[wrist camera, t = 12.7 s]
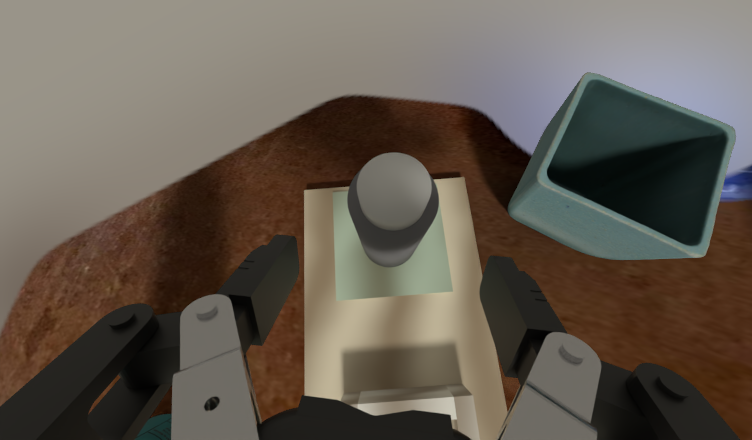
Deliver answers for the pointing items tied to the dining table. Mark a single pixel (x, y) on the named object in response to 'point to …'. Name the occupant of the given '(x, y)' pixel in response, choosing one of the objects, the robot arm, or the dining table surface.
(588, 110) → the flower pot
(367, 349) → the cream tray
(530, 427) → the robot arm
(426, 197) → the grey capped cylinder
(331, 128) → the dining table surface
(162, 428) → the beverage bottle
